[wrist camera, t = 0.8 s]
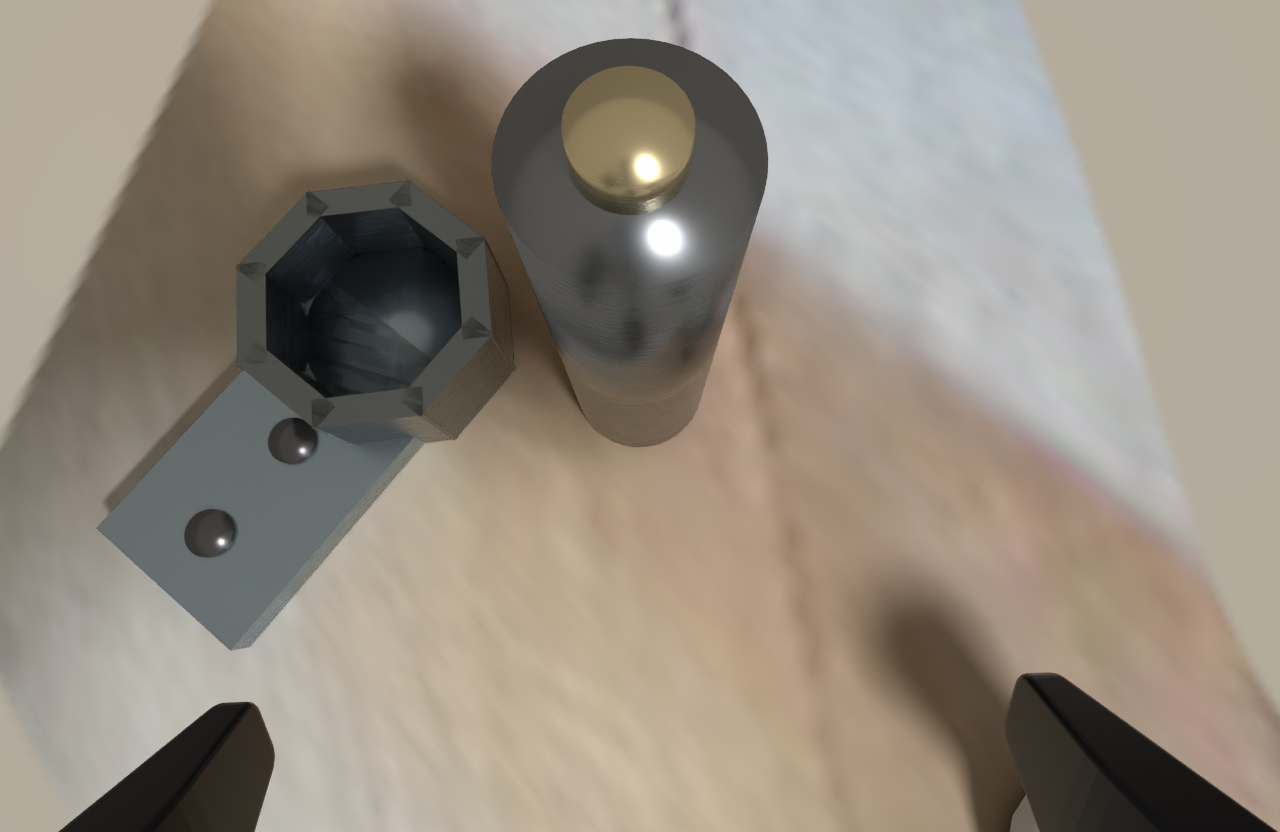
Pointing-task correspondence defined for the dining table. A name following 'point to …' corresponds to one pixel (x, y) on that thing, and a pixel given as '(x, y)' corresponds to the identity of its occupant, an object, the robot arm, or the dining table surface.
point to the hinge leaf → (320, 399)
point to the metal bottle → (632, 221)
